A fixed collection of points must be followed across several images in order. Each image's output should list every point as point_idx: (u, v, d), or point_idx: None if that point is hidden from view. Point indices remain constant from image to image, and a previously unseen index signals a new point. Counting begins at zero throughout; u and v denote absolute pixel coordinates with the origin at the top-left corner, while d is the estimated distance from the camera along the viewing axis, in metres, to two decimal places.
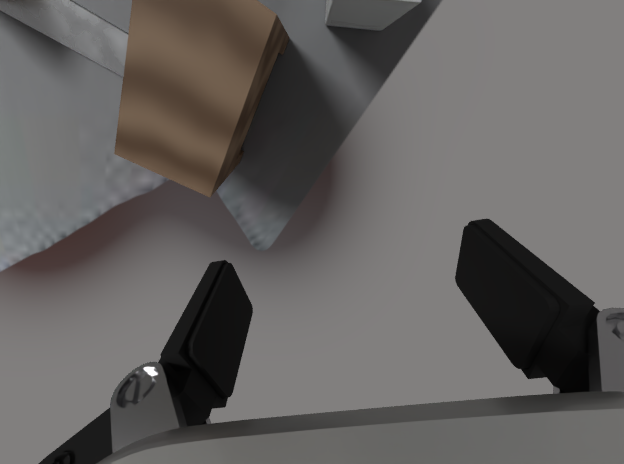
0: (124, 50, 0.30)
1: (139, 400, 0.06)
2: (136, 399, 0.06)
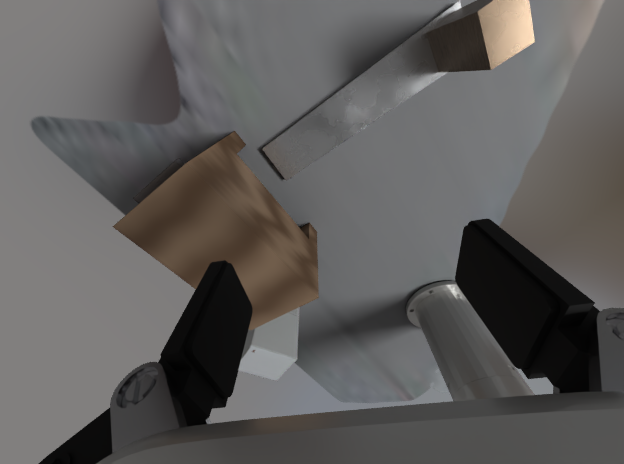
0: (315, 142, 0.30)
1: (140, 401, 0.06)
2: (136, 399, 0.06)
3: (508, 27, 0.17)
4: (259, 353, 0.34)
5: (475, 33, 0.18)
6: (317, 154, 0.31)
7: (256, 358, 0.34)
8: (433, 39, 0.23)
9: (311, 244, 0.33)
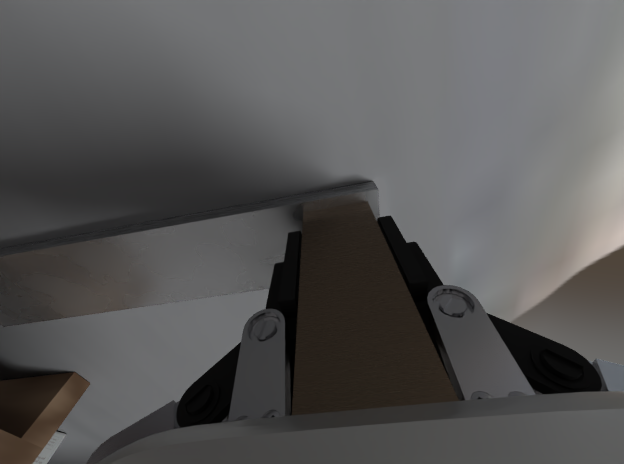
0: (63, 294, 0.14)
1: (262, 338, 0.07)
2: (260, 336, 0.07)
3: None
4: None
5: None
6: (70, 309, 0.15)
7: None
8: None
9: (21, 450, 0.17)
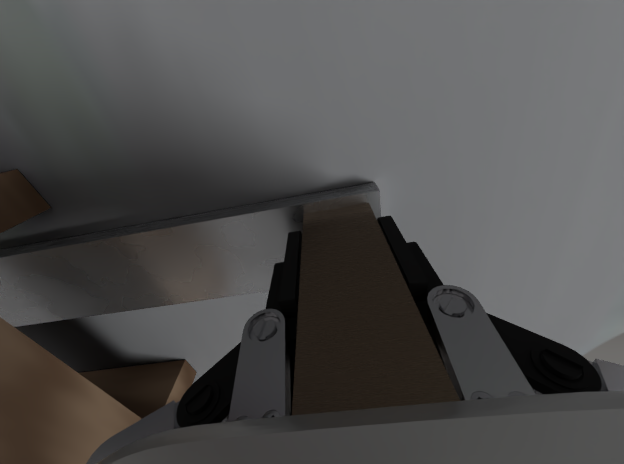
0: (60, 296, 0.14)
1: (262, 338, 0.07)
2: (260, 336, 0.07)
3: None
4: None
5: None
6: (67, 312, 0.15)
7: None
8: None
9: None
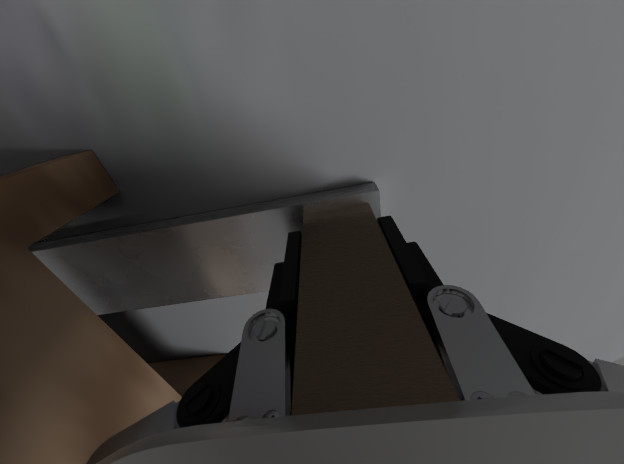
0: None
1: (262, 338, 0.07)
2: (260, 336, 0.07)
3: None
4: None
5: None
6: None
7: None
8: None
9: None
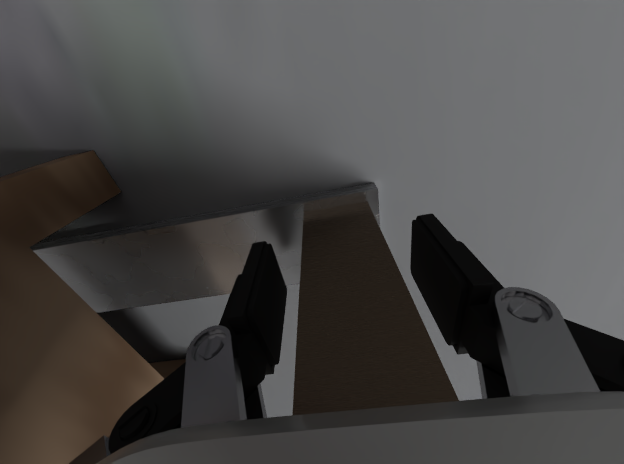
0: None
1: (208, 357, 0.07)
2: (206, 356, 0.06)
3: None
4: None
5: None
6: None
7: None
8: None
9: None
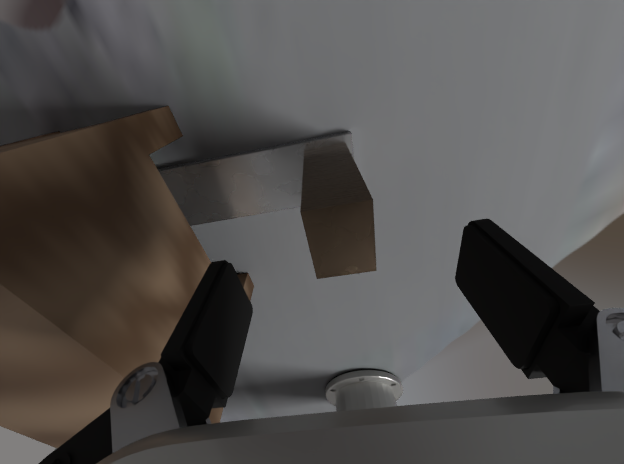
0: None
1: (139, 401, 0.06)
2: (136, 399, 0.06)
3: (344, 244, 0.11)
4: None
5: None
6: None
7: None
8: None
9: None
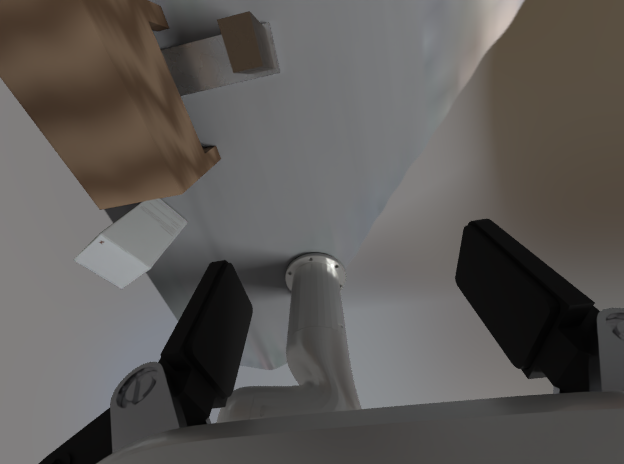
0: None
1: (139, 401, 0.06)
2: (136, 399, 0.06)
3: (242, 44, 0.22)
4: (108, 246, 0.31)
5: None
6: None
7: (102, 253, 0.32)
8: None
9: (205, 159, 0.33)
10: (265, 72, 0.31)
